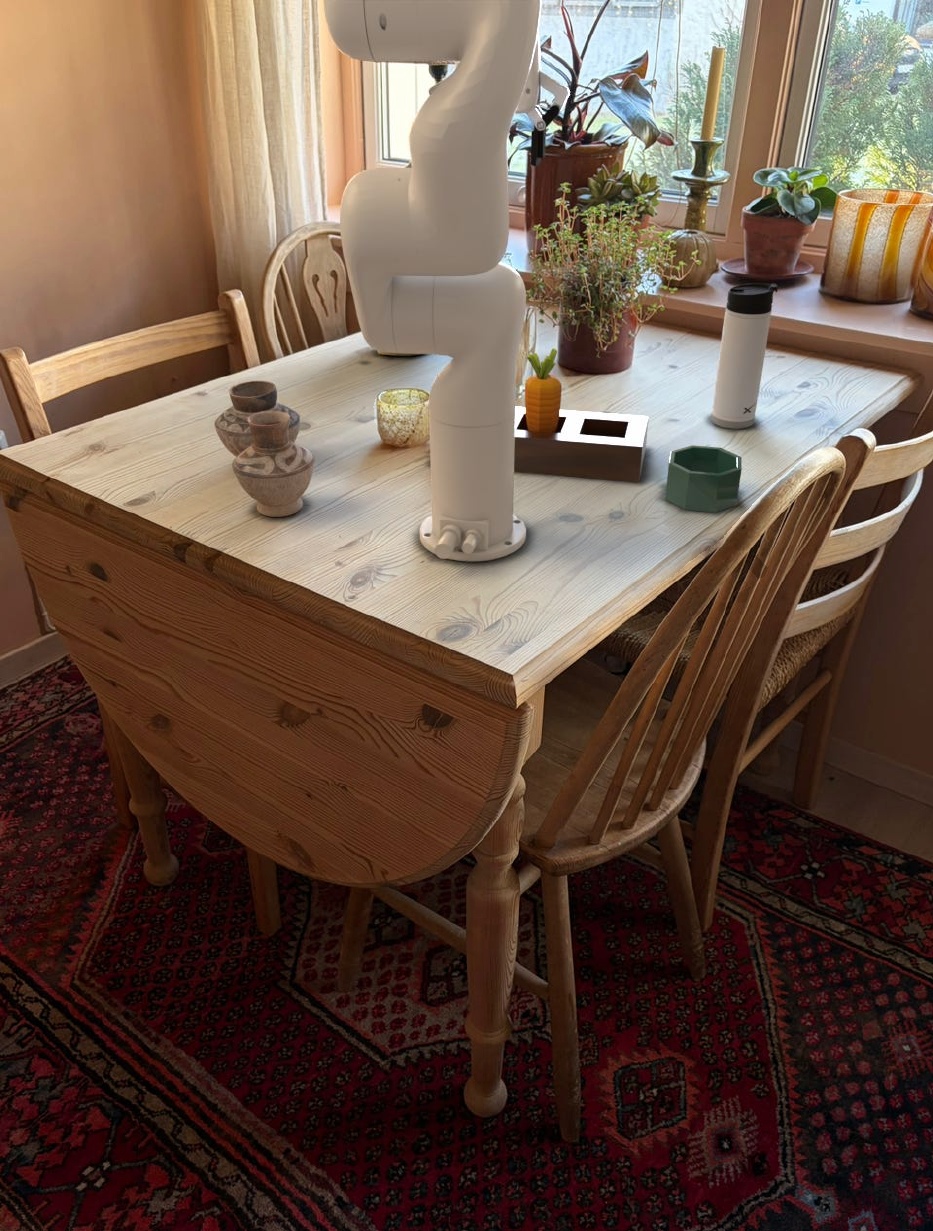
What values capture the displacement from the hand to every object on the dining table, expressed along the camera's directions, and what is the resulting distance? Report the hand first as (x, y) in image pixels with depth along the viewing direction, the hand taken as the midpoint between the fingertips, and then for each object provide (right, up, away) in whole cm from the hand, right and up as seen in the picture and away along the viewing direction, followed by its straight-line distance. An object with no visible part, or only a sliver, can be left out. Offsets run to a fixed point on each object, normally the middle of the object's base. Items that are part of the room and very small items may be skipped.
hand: (497, 163), depth 124 cm
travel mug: (+36, -28, +23) cm, 51 cm away
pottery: (-30, -40, +6) cm, 50 cm away
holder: (+26, -42, +2) cm, 49 cm away
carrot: (+6, -35, +13) cm, 38 cm away
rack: (+6, -35, +12) cm, 38 cm away
